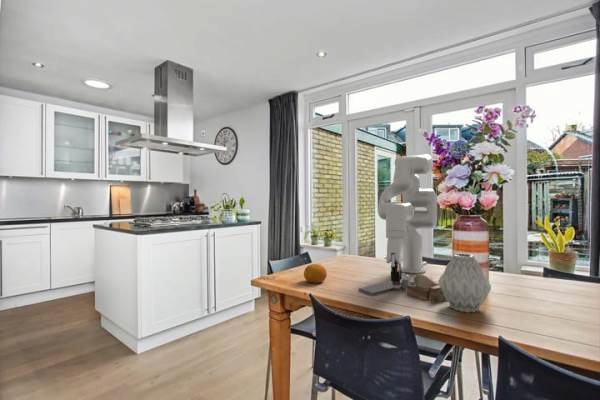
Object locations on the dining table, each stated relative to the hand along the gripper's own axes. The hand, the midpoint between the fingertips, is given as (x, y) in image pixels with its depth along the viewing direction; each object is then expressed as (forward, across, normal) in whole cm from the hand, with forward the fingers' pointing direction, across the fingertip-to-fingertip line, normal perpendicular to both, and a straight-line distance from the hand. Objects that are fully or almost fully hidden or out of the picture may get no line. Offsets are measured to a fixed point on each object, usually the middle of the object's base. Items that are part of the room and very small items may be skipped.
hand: (396, 279), depth 125 cm
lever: (+4, -9, +1) cm, 10 cm away
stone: (+6, -6, +10) cm, 13 cm away
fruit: (+6, -3, -37) cm, 38 cm away
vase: (+6, +6, +24) cm, 26 cm away
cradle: (+6, -5, +12) cm, 14 cm away
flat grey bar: (+6, -7, -5) cm, 11 cm away
